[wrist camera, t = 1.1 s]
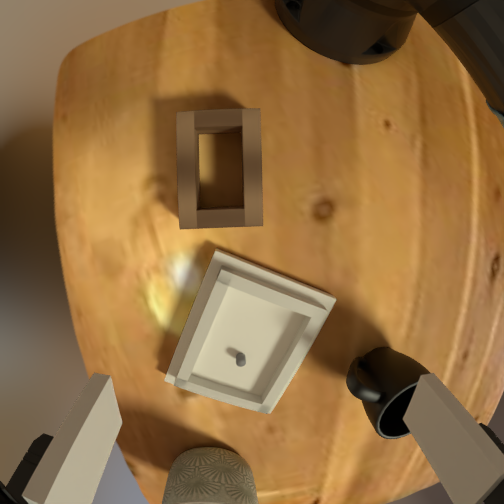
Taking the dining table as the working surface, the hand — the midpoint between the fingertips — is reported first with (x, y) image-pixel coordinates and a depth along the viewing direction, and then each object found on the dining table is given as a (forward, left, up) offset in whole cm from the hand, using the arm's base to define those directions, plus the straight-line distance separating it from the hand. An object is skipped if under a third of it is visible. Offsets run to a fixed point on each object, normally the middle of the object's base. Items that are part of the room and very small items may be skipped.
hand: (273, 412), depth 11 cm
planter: (+29, +7, -20) cm, 35 cm away
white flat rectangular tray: (+7, +3, -20) cm, 21 cm away
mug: (+5, +18, -20) cm, 27 cm away
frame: (-8, -6, -20) cm, 22 cm away
